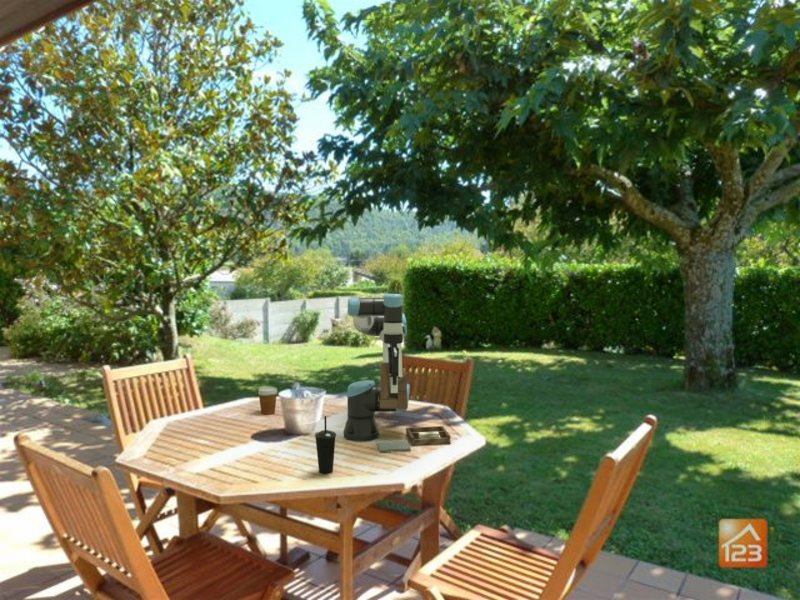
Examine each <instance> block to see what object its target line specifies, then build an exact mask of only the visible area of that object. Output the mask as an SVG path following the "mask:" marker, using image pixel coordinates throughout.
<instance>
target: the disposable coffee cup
mask: <svg viewBox="0 0 800 600" xmlns="http://www.w3.org/2000/svg"><path fill="white" fill-rule="evenodd" d="M257 394H258V397H259V398H258V399H259V406H260V413H261V415H264V416H270V415H275V413H276V405H277V397H278V396H277V395H278V388H277V387H272V386H271V387H270V386H269V387H268V386H267V387H262V388H259V389H258V391H257Z"/></svg>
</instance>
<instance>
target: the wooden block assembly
mask: <svg viewBox="0 0 800 600" xmlns="http://www.w3.org/2000/svg"><path fill="white" fill-rule="evenodd" d="M379 365H380V368H379V370H380V375H379V377H380V380H379V384H380V408H389V409H397V408H398V409H407V384H408V371H406V372H405V373H404V374H403V376H402V377H401V378H400V379H399V380H398V399H396V398H389V391H391V388H390V389H389V363H387V362H383V361H382V362H380V364H379ZM407 410H408V409H407Z"/></svg>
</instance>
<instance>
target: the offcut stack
mask: <svg viewBox="0 0 800 600" xmlns="http://www.w3.org/2000/svg"><path fill="white" fill-rule="evenodd" d="M418 436H419V439H427V438H441V437H440V435H439V433H438V432H418Z"/></svg>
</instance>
